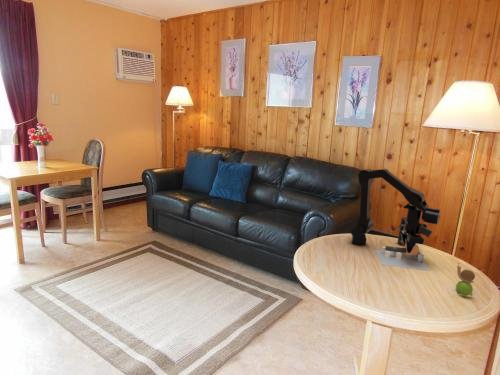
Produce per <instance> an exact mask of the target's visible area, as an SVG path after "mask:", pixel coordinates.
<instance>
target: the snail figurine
mask: <svg viewBox="0 0 500 375" xmlns="http://www.w3.org/2000/svg"><path fill="white" fill-rule="evenodd" d="M456 270H457V271H456V272H457V276H458V278H459V279H460V281H458V282H457V283H456V285H455V289H456V291H457V292H458V293H459V295H461V294H462V296H469V295H472V293H473V289H474V288H473V285H472V284H473V283H474V282H475V281H474V280H475V278H476V274H475V273H474V271H473V270H471V269H466V268H465V269H463V270H462V266H461V265H460V262H457V266H456Z"/></svg>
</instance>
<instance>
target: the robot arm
mask: <svg viewBox="0 0 500 375" xmlns="http://www.w3.org/2000/svg"><path fill="white" fill-rule="evenodd" d="M379 178H382V179H383V180H384V181H385V182H387V184H389V185H390V186H392V187H393V188H394V189H396V190H397V191H398V192H400V194H402V196H403V197H404V198H405V200H406V201H407V202H408V203H406V205H404V206H403V207H402V208H403V209H407V213H406V219H405V222H406V223H405V225H404V224H401V223H400V224H399V225H398V228H397V230H398V232H399V231H401V230H402V232H400V234H401V237H402V240H403V244H404V246H403V248H404V247H405V243H406V247H407V252H408V253H411V251H412V249H413V247H414V246H415V244H416V245H424V244H425V238H424V237H423V236H425V237H427V238H430V236H431V234H432V233H433V231H432V230H431V229H430V228H429V227H428V225H427V224H432V225H436V226H437V225H439V223H440V220H441V209H440V208H432V207H429V205H428V203H427V201H426V200H425V199H426V195H425V194H424V193H423V192H422V191H420V190H418V189H416V188H413V187H410V186H409V185H407V183H405V182H404V181H402V180H401V179H400V178H399V177H397V175H395V174H393V173H392V172H390V171H389V169H388V168H382V169H371V168H365V169H362V170H360V171H359V172H358V174H357V179H358V184H359V187H360V198H359V200H360V202H359V217H358V219H357V220H356V226H355V228H353V229H351V230H350V235H351V240H350V242H351V244H352V245H355V246H358V247H359V246H366V244H367V240H368V239H367V235H366V234H367V233H368V232H370V231H371V230H372V228H374V218H372V217H371V216H370V208H371V207H370V206H371V205H370V203H371V187H372V185H373V182H374V180H375V179H379ZM421 220H422V221H423V222H422V223H421ZM425 223H427V224H425ZM421 235H423V236H421Z"/></svg>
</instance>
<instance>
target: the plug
mask: <svg viewBox="0 0 500 375" xmlns="http://www.w3.org/2000/svg"><path fill="white" fill-rule="evenodd" d="M384 247H385V250H386V251H393V252H401V253H406V254H407V255H416V256H418V251H419V250H420V247H419V245H418V244H415V246H414V247H413V249H412V251H411V253H408V252H407V247H406V243H405V247H404V246H403V247H399V246H391V245H386V246H384Z"/></svg>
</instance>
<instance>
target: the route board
mask: <svg viewBox="0 0 500 375" xmlns="http://www.w3.org/2000/svg"><path fill="white" fill-rule="evenodd" d="M374 252H375V253H376V256H377V258H378V260H379V261H380V263H381V265H382V266H387V267H396V268H403V269H412V270H420V271H429V272H430V271H431V269H430V268H429V267H428V265H427V264H425V262H424V261H423V263H420V262H417V257H416V256H412V255H407V254H406V253H402V252H401V253H402V255H401V260H400V259H396V255H393V251H390V258H385V257H384V256H385V254H384V253H382V249H374Z"/></svg>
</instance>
